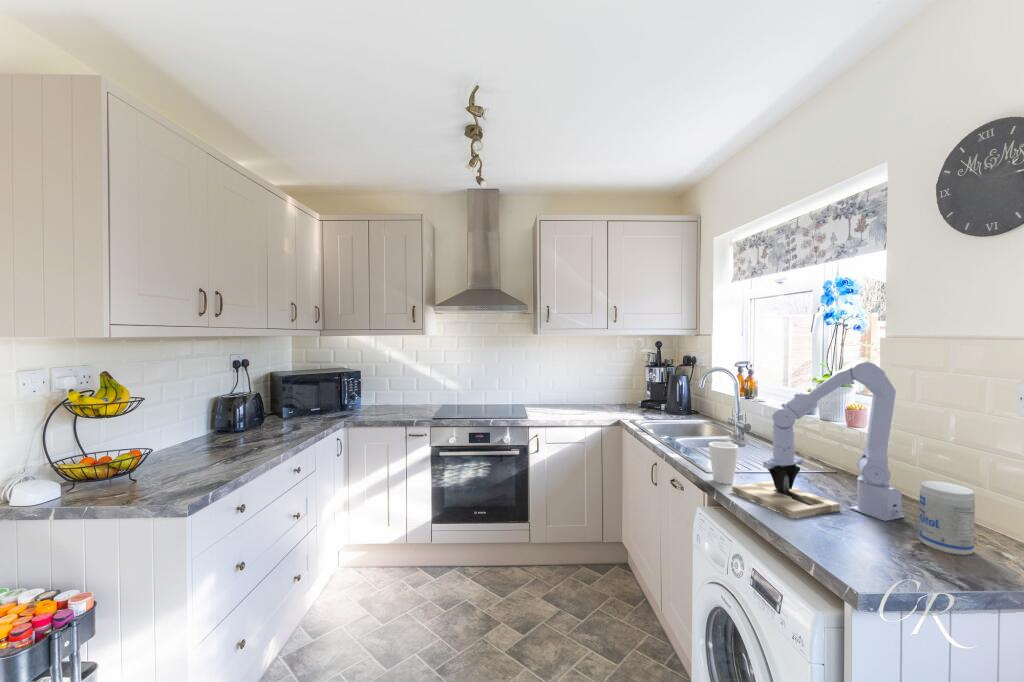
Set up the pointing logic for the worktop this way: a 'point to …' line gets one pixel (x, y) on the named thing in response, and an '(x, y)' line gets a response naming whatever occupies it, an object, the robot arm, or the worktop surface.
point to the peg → (785, 486)
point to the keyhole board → (786, 499)
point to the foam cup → (723, 461)
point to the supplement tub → (947, 517)
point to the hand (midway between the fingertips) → (783, 488)
